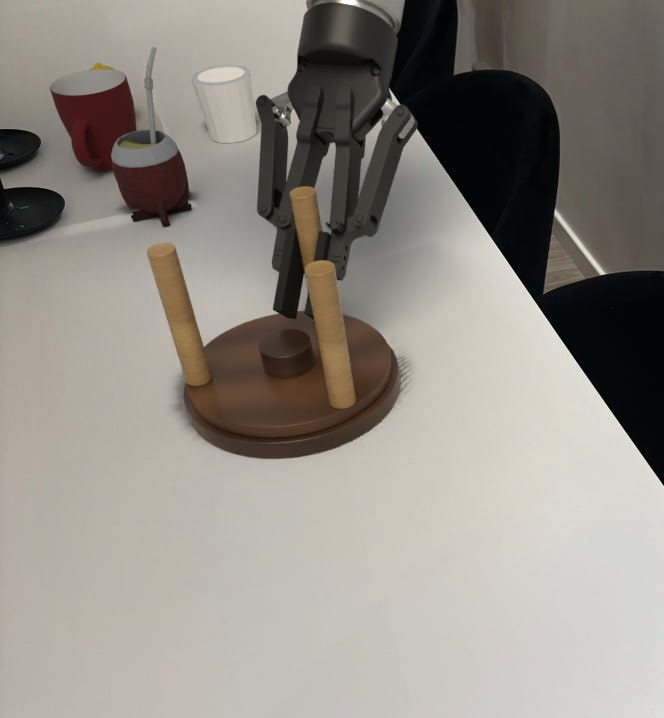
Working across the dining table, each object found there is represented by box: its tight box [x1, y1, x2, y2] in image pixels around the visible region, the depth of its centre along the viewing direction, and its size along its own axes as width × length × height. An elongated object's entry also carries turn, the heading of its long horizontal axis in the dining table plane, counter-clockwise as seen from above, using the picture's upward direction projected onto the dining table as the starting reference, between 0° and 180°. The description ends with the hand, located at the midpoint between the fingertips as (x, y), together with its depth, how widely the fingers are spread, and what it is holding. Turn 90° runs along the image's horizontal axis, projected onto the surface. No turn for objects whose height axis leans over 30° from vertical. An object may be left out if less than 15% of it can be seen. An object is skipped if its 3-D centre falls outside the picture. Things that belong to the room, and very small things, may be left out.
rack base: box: [183, 342, 401, 460], centre depth 77 cm, size 17×17×2 cm
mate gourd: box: [111, 46, 193, 228], centre depth 97 cm, size 8×8×15 cm
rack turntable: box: [146, 186, 392, 438], centre depth 72 cm, size 16×16×12 cm
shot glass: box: [191, 64, 258, 144], centre depth 115 cm, size 7×7×7 cm
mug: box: [49, 69, 138, 172], centre depth 106 cm, size 10×8×10 cm
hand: (300, 316), depth 76 cm, fingers closed on rack turntable, 2 cm apart
